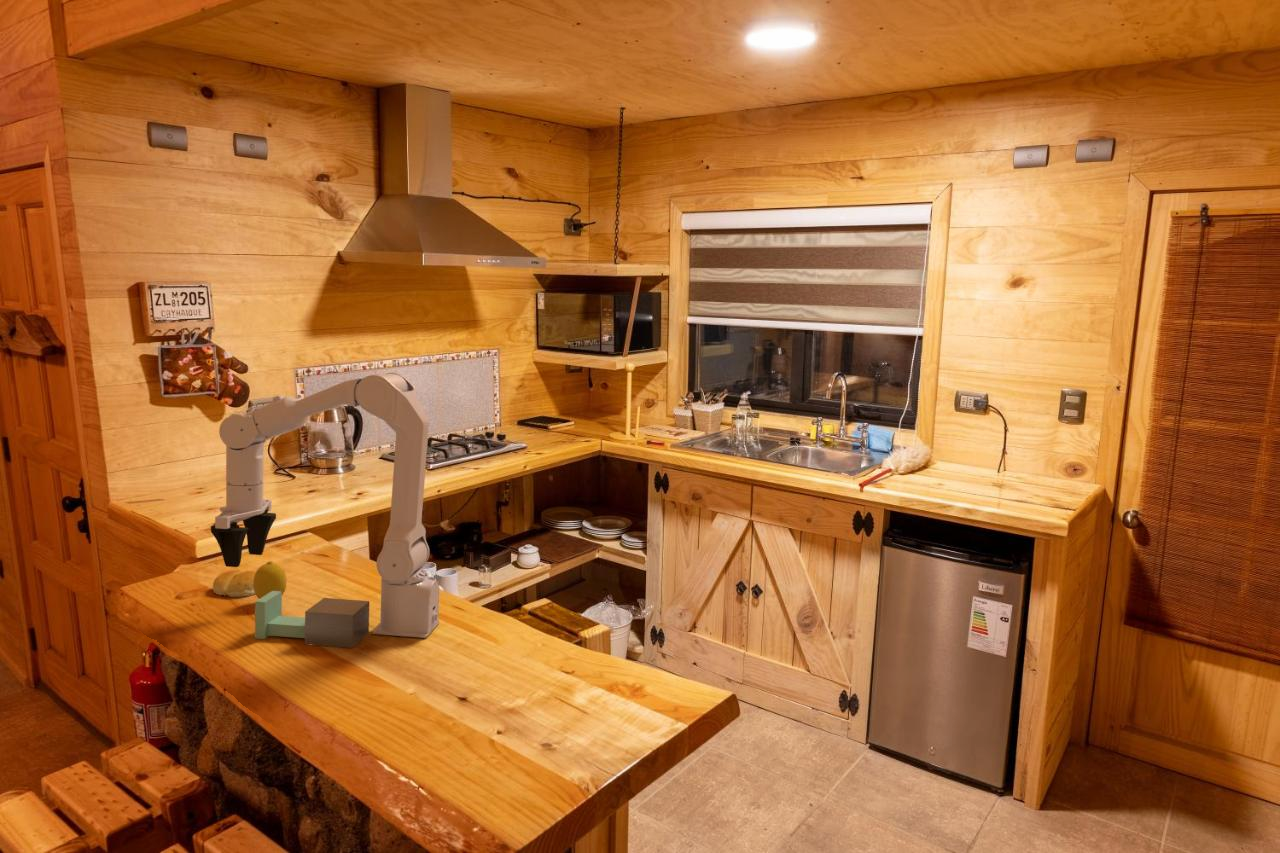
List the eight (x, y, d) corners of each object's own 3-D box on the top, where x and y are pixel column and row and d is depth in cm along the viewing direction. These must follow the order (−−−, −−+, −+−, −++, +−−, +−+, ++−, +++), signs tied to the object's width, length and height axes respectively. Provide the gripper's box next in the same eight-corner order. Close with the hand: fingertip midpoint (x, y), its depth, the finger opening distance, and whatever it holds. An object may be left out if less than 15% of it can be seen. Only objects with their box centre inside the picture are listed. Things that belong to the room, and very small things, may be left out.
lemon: (292, 600, 151) (292, 558, 150) (276, 610, 146) (276, 566, 145) (263, 597, 152) (264, 556, 151) (246, 607, 146) (246, 564, 145)
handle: (345, 631, 137) (345, 596, 137) (330, 644, 132) (331, 607, 131) (266, 625, 138) (266, 590, 137) (249, 637, 132) (249, 601, 132)
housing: (368, 632, 138) (369, 601, 137) (352, 648, 131) (352, 615, 130) (323, 629, 138) (324, 597, 138) (304, 644, 131) (305, 611, 131)
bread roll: (232, 582, 160) (232, 563, 160) (272, 588, 158) (272, 568, 158) (201, 595, 152) (201, 574, 151) (243, 601, 150) (243, 580, 150)
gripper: (244, 474, 147) (244, 547, 148) (197, 489, 132) (197, 570, 134) (282, 476, 146) (282, 550, 148) (239, 491, 132) (239, 573, 133)
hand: (244, 560), depth 141 cm, fingers open, 7 cm apart
